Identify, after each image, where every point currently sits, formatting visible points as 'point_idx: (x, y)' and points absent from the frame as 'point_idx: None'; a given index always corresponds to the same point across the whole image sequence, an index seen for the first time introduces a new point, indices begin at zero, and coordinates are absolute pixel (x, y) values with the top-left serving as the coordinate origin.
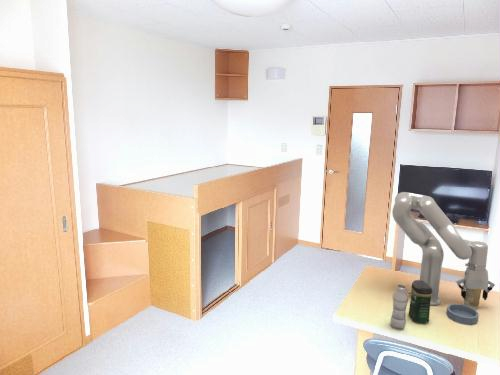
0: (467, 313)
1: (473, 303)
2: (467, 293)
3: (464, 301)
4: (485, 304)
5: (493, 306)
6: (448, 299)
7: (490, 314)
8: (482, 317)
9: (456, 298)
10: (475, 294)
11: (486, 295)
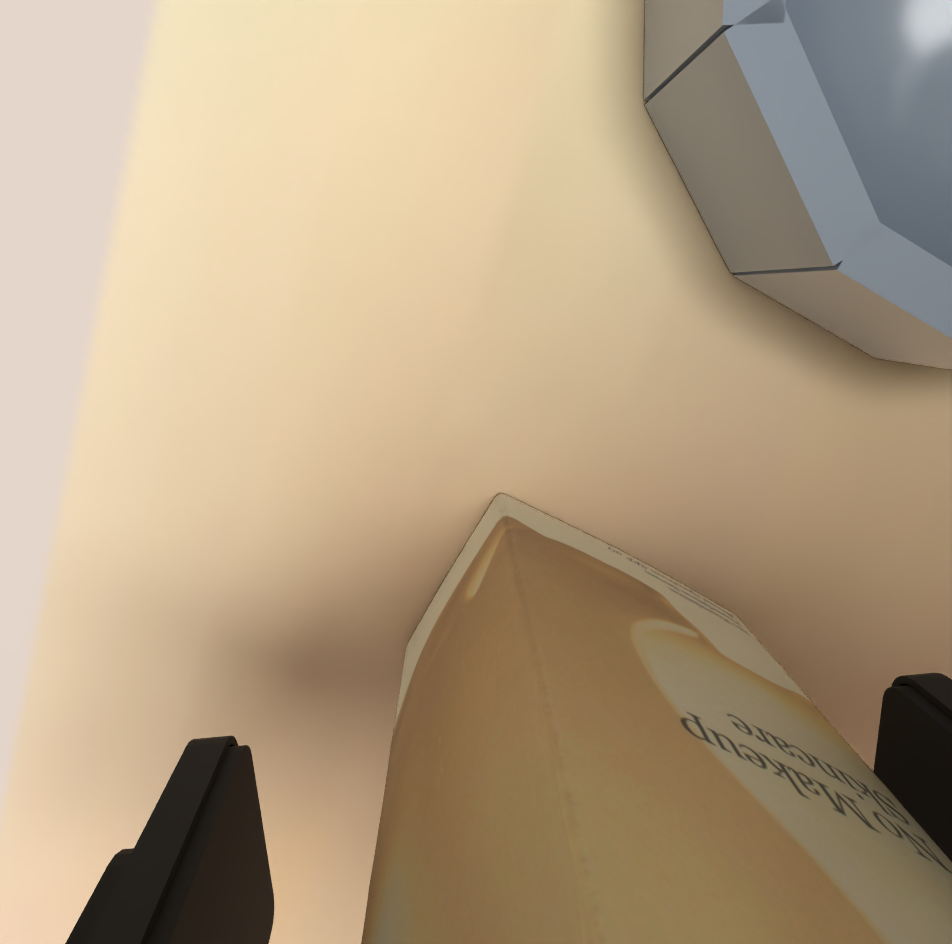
0: (854, 127)
1: (598, 584)
2: (932, 878)
3: (783, 673)
4: None
5: (50, 778)
6: None
7: (206, 363)
8: (455, 130)
9: None
10: (692, 805)
11: (122, 894)
